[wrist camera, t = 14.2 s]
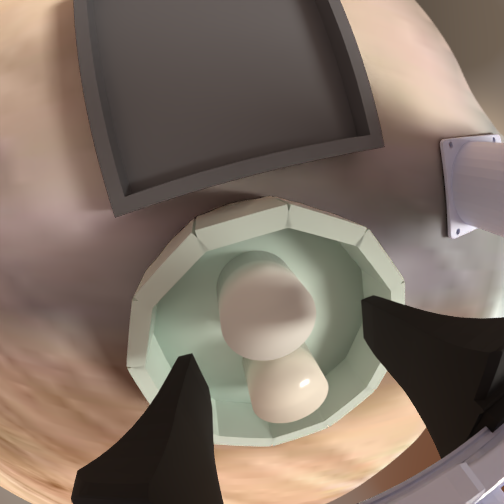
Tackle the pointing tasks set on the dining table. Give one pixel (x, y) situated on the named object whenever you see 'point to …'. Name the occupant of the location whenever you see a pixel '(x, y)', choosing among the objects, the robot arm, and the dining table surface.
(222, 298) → the pebble
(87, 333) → the dining table surface
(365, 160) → the dining table surface
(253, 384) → the pebble
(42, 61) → the dining table surface
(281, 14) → the tray
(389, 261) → the bowl
